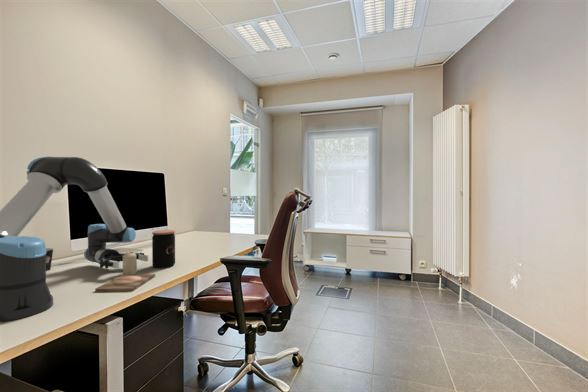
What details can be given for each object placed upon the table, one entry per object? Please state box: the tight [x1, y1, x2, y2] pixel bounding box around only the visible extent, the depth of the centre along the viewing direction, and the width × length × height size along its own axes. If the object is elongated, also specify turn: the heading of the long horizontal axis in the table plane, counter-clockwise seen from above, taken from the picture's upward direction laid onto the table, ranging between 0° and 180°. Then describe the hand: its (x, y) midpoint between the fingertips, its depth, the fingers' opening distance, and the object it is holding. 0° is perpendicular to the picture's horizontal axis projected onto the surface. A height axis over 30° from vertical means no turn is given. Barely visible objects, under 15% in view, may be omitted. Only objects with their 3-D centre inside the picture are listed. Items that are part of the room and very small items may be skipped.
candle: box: [122, 251, 138, 275], centre depth 125 cm, size 6×6×10 cm
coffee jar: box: [151, 229, 176, 269], centre depth 138 cm, size 11×11×18 cm
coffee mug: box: [46, 247, 54, 272], centre depth 129 cm, size 12×9×10 cm
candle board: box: [94, 273, 156, 293], centre depth 111 cm, size 18×14×2 cm
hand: (133, 261), depth 123 cm, fingers open, 13 cm apart
